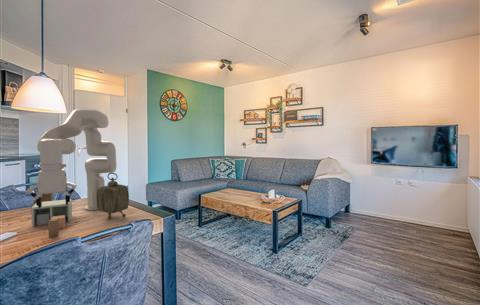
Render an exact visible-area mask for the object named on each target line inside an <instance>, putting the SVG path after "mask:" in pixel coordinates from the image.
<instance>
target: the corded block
mask: <svg viewBox="0 0 480 305" xmlns="http://www.w3.org/2000/svg"><path fill="white" fill-rule="evenodd" d="M47 225H48V238H49V239H50V238H57V237H58V236H59V234H60V233H59V231H60V230H59V229H64V228H65V227H66V217H65V215H61V216H53V217H52V218H51V220H49V221H48V224H47Z"/></svg>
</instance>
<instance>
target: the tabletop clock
mask: <svg viewBox="0 0 480 305" xmlns="http://www.w3.org/2000/svg"><path fill="white" fill-rule="evenodd" d="M110 175H114V176H116V178H114V177H111V178H110V177H109V176H110ZM106 176H107V179H108V180H109V181H108V182H107V185H105V186H103V187H100V188H99V189H98V190H97V208H98V210H97V211H99V212H103V213H107V215H108V217H107V218H108V220H110V219H112V214H116V213H118V212H119V213H121V215H122V217H123V218H125V217H127V216H126V213H124V212H123V211H125V210H127V209H129V204H130V194H129V192H130V191H129V188H128V186H127V185H124V184H120V183H118V182H117V180H118V174H117V173H115V172H113V173H107V175H106Z"/></svg>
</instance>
